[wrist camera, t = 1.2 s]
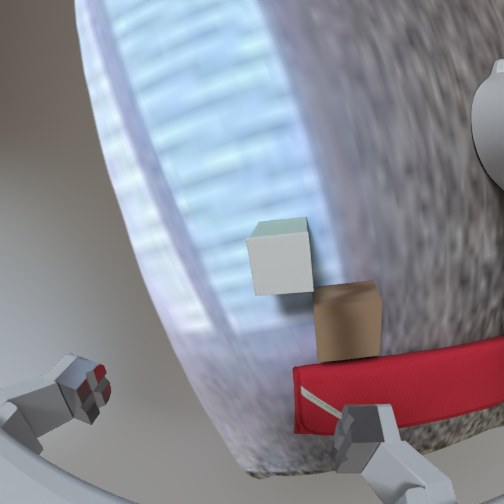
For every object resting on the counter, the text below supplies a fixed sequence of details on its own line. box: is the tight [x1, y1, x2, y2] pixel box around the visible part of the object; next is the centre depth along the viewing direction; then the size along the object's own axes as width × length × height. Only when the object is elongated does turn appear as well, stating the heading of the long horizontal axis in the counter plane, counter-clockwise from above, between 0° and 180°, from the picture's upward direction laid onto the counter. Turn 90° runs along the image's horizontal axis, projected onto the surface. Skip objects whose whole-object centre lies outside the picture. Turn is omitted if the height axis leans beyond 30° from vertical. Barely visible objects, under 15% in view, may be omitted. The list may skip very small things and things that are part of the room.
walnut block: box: [313, 280, 382, 362], centre depth 32 cm, size 7×7×5 cm
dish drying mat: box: [293, 336, 504, 435], centre depth 34 cm, size 16×41×4 cm, turn 95°
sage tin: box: [246, 217, 314, 296], centre depth 29 cm, size 5×5×7 cm
